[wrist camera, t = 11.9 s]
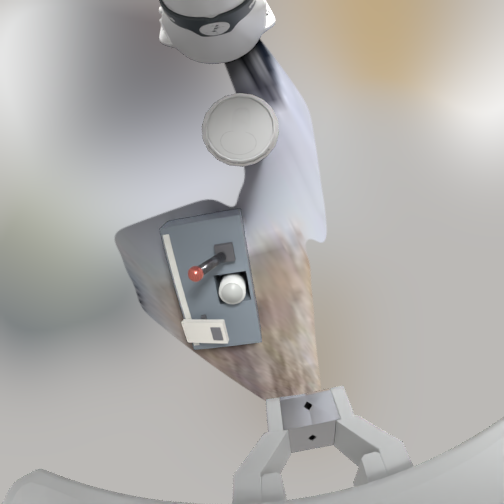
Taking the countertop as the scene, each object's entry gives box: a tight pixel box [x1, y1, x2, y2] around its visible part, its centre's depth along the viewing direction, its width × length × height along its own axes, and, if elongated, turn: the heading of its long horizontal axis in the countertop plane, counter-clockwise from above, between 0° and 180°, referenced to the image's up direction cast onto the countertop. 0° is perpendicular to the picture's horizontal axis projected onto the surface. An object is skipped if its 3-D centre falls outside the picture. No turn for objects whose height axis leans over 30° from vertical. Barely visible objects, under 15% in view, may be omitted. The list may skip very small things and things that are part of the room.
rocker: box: [181, 319, 229, 344], centre depth 44 cm, size 4×7×1 cm, turn 99°
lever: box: [188, 252, 227, 282], centre depth 37 cm, size 2×2×7 cm
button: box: [219, 272, 246, 304], centre depth 44 cm, size 4×4×4 cm
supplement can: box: [202, 93, 279, 167], centre depth 34 cm, size 8×8×15 cm
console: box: [159, 209, 262, 350], centre depth 45 cm, size 22×12×6 cm, turn 9°
